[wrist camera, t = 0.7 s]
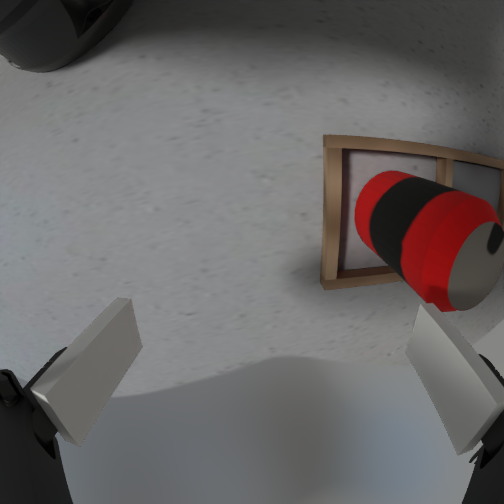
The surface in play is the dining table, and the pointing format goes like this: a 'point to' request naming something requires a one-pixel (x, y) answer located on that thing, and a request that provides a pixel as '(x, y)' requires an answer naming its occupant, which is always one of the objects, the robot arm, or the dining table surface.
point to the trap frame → (448, 173)
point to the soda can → (432, 238)
